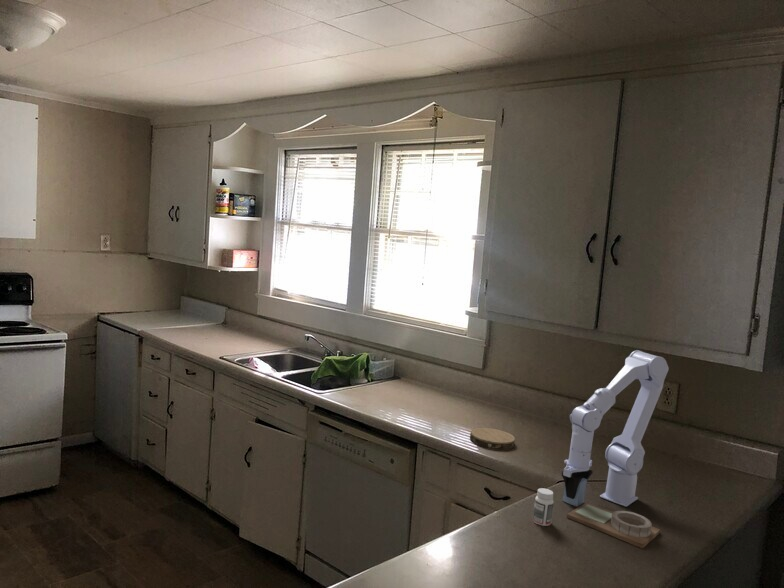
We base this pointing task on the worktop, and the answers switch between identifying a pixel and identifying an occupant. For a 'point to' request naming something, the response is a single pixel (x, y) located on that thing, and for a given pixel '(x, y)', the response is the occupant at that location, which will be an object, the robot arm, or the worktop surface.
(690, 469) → the worktop surface
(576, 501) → the peg block
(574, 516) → the board
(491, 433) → the tan round disc
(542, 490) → the pill bottle
